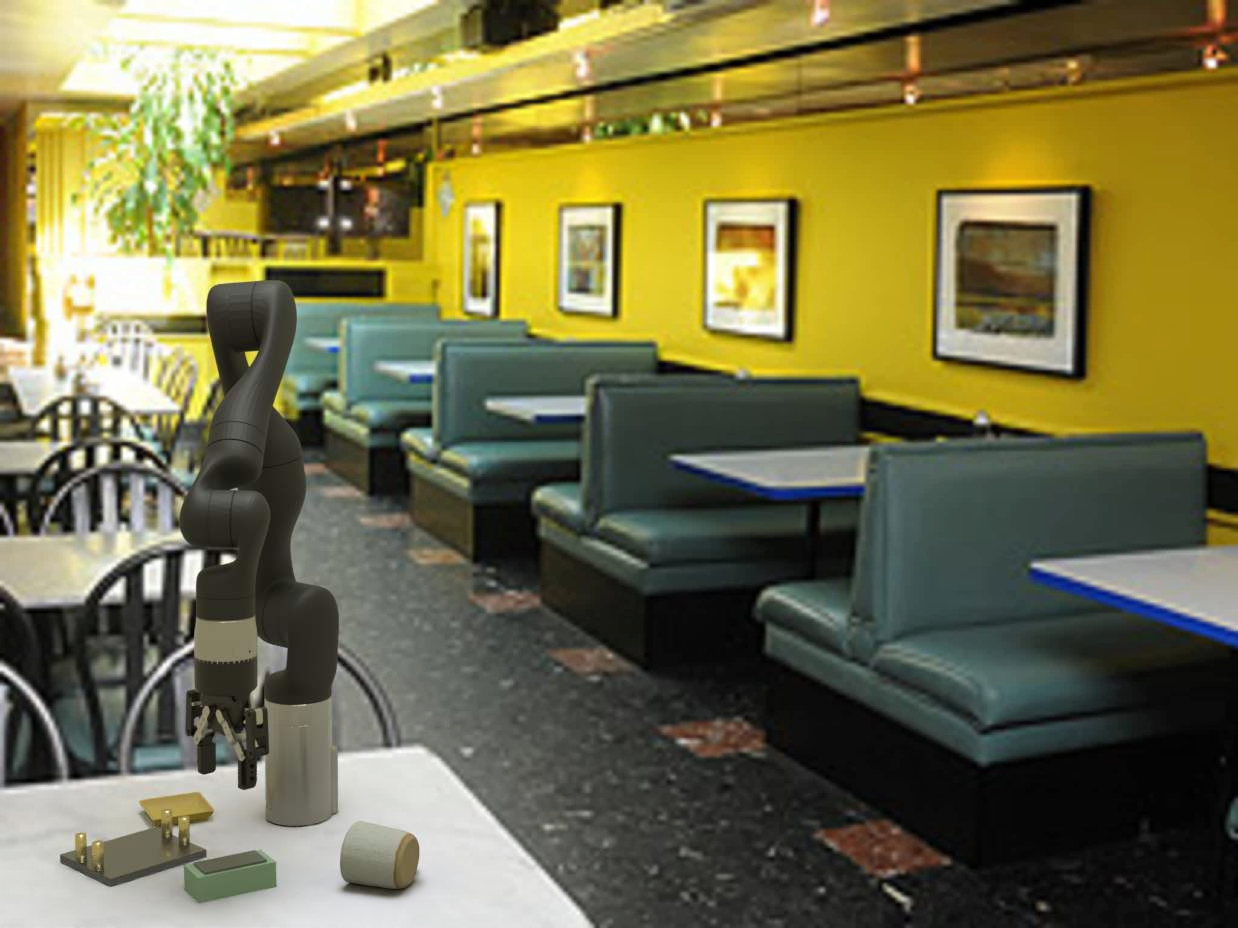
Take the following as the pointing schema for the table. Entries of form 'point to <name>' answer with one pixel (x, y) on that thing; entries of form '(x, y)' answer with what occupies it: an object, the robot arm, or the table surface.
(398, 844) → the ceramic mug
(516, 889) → the table surface
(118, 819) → the table surface
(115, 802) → the table surface
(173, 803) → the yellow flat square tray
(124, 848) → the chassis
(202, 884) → the green rectangular block
